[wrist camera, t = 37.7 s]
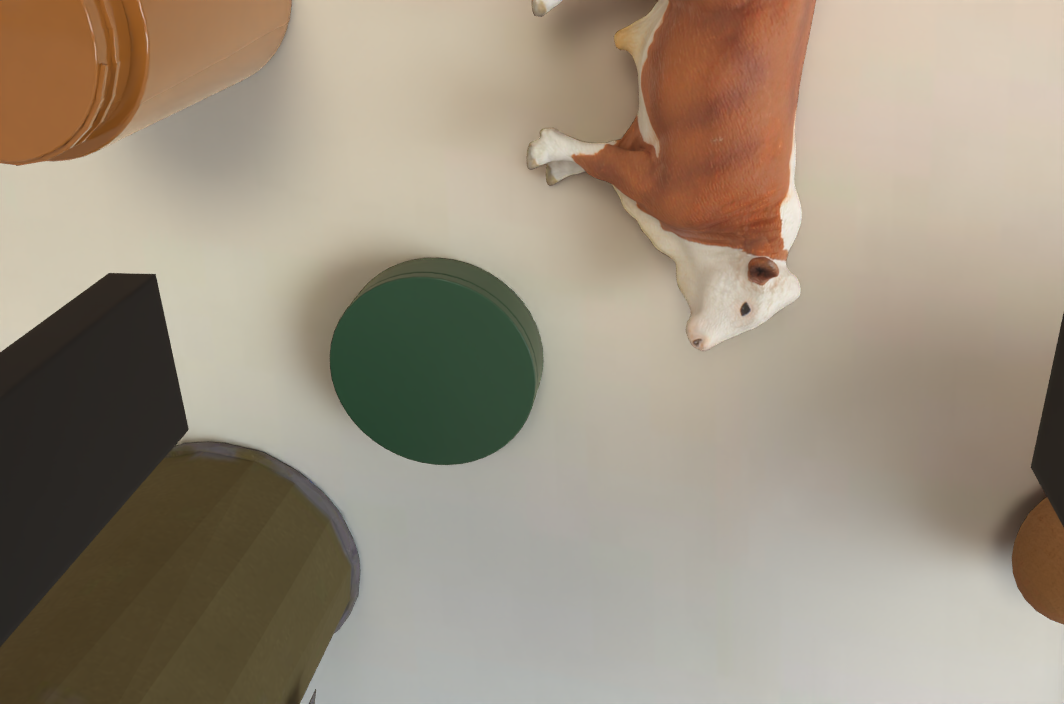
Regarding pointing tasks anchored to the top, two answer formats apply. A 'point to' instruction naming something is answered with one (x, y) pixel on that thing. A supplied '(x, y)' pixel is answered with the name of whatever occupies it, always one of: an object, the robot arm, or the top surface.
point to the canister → (194, 592)
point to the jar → (119, 66)
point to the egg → (1041, 561)
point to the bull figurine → (708, 152)
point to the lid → (437, 361)
